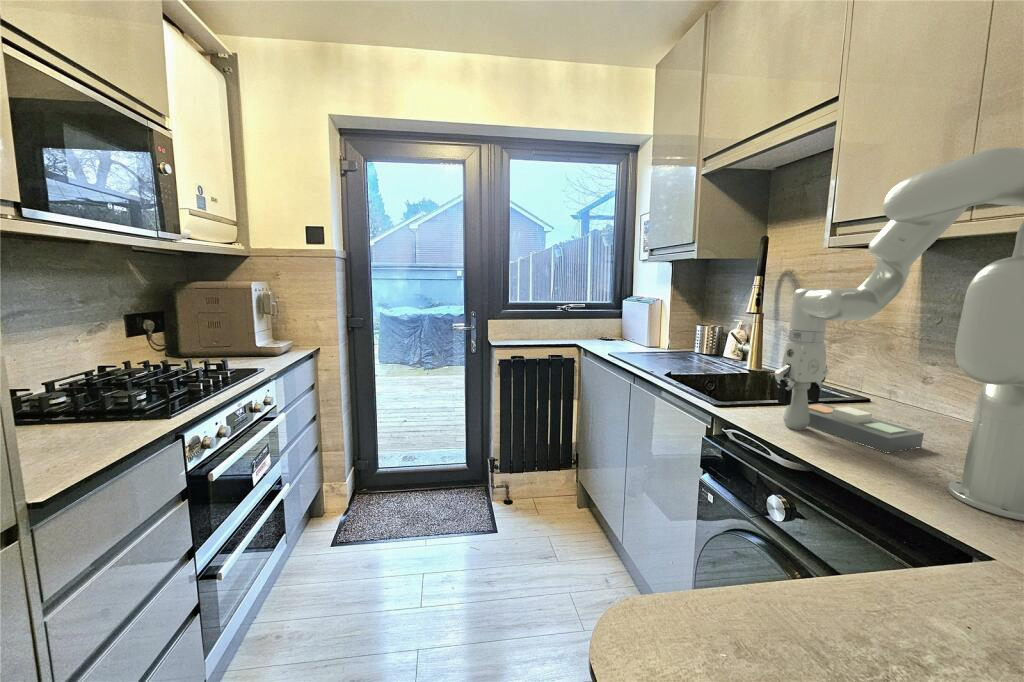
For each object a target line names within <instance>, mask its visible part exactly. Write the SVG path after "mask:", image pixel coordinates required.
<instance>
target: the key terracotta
mask: <svg viewBox="0 0 1024 682" xmlns="http://www.w3.org/2000/svg"><path fill="white" fill-rule="evenodd" d="M808 408H809V409H810V410H813V411H816V412H820V413H823V414H831V413H833V409H832V408H829V407H826V406H822V405H811V406H808Z"/></svg>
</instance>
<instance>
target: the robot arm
mask: <svg viewBox="0 0 1024 682" xmlns="http://www.w3.org/2000/svg"><path fill="white" fill-rule="evenodd" d="M984 204H987V205H989V204H990V205H1000V206H1014V207H1022V208H1024V148H1022V147H1012V146H1005V147H996V148H990V149H986V150H982V151H979V152H977V153H974V154H969V155H967V156H964V157H961V158H959V159H956V160H953V161H950V162H948V163H945V164H942V165H939V166H936V167H933V168H930V169H928V170H924V171H922V172H919V173H916V174H913V175H911V176H909V177H906V178H905V179H903V180H901V181H900V182H898V183H896V185H895V186H893V187H892V188H891V189H890V190H889V191H888V193H887V194H886V196H885V198H884V199H883V204H882V207H883V208H882V209H883V213H884V215H885V216H886V218H888V219H889V221H888V222H887V223H886V225H885V226H883V227H882V228H881V230H880V231H879V232H878V233H877V234H876V235H875V236H874V238H873V239H872V240H871V241H870V242H869V244H868V251H869V253H870V254H871V255H872V256H873V257H874V258H875V262H876V263H875V267H874V269H873V271H872V272H871V274H869V276H868V277H867V278H866V279H865V280H864V281H863V282H862V283H861V284H860V285H859V287H857V288H826V289H825V288H812V287H811V288H810V287H809V288H808V287H807V288H804V287H803V288H798V289H796V290H795V291H794V292H793V299H792V306H791V315H790V323H789V330H788V331H789V332H788V340H787V342H786V343H787V344H786V346H785V350H784V354H783V357H782V363H781V367H780V368H779V369H777V370H776V371H775V372H774V374H773V375H774V378H775V382H776V384H777V388H778V396H777V402H778V403H779V404H782V405H785V406H787V405H791V398H792V389H793V387H792V386H793V385H794V383H795V382H797V383H811V386H810V389H808V390H807V396H808V402H809V401H811V402H814V403H819V401H820V394H821V388H822V387H823V383H824V381H825V380H826V376H827V375H828V373H829V369H828V368H826V367H827V348H826V347H827V346H826V343H825V337H826V328H827V322H841V321H842V322H844V321H864V320H865V321H866V320H867V319H870V318H872V317H874V316H876V315H877V314H879V313H880V312H881V311H882V310H883V309H884V308H885V307H886V306H888V305H889V303H891V302H892V301H893V299H895V298H896V297H897V296H898V295H899V294H900V292H901V291H902V289H903V288H904V286H905V284H906V281H907V279H908V277H909V275H910V272H911V271H910V270H911V267H912V265H913V263H915V262H916V260H917V259H919V258H920V257H921V255H923V254H924V252H926V250H927V249H929V248H930V247H931V246H932V245H933V244H934V243H935V242H936V240H938V239H939V238H940V237H941V236H942V235H943V234H944V233H945V232H946V231H947V230H948V229H949V228H950V227H951V226H952V225H953V224H955V222H957V220H958V219H959V218H960V217H961V216H962V215H963V214H964V213H965V211H967V209H968V208H969V207H973V206H974V207H975V206H979V205H984ZM954 356H955V361H956V363H957V364H956V365H958V367H959V369H960V370H961V371H962V372H963V374H965V376H967V377H969V378H971V379H973V380H974V381H977V382H979V383H982V387H981V389H980V391H979V394H978V397H977V400H976V406H975V411H974V415H973V420H972V426H971V429H970V435H969V439H968V444H967V445H968V446H967V452H966V455H965V462H964V466H963V471H962V476H961V477H962V478H961V479H959V480H953V481H950V482H949V483H948V485H947V491H948V493H949V494H950V495H951V496H953V498H955V499H957V500H959V501H960V502H963V503H965V504H966V505H969V506H971V507H972V508H973V507H974V508H976V509H979V510H981V511H984V512H987V513H989V514H993V515H996V516H1000V517H1004V518H1006V519H1007V518H1008V519H1011V520H1017V521H1022V522H1024V220H1023V221H1022V222H1021V224H1020V225H1019V228H1018V230H1017V233H1016V237H1015V244H1014V249H1013V252H1012V256H1009V257H1005V258H1001V259H998V260H995V261H993V262H991V263H988V264H987V265H986V266H985V267H983V268H981V269H980V270H979V271H978V272H977V273H976V275H974V277H973V278H972V279H971V281H970V283H969V285H968V287H967V289H966V291H965V296H964V302H963V307H962V310H961V316H960V320H959V326H958V331H957V335H956V341H955V348H954Z"/></svg>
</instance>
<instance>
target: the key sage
mask: <svg viewBox="0 0 1024 682" xmlns="http://www.w3.org/2000/svg"><path fill="white" fill-rule="evenodd" d="M864 427H867V428H871V429H874V430H877V431H880V432H883V433H887V434H890V435H892V434H899V433H906V430H904V429H900V428H897V427H893V426H890V425H887V424H883V423H880V422H879V423H871V424H864Z"/></svg>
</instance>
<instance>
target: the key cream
mask: <svg viewBox="0 0 1024 682" xmlns="http://www.w3.org/2000/svg"><path fill="white" fill-rule="evenodd" d="M872 415H873V414H872V413H871V412H867V411H864V410H862V409H861V410H860V409H859V408H858V409H857V408H854V407H850V406H845V407H844V406H843V407H836V408H834V409H833V413H832V417H835V418H839V419H842V420H845V421H848V422H851V423H855V424H858V423H866V422H871V418H873V417H872Z"/></svg>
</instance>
